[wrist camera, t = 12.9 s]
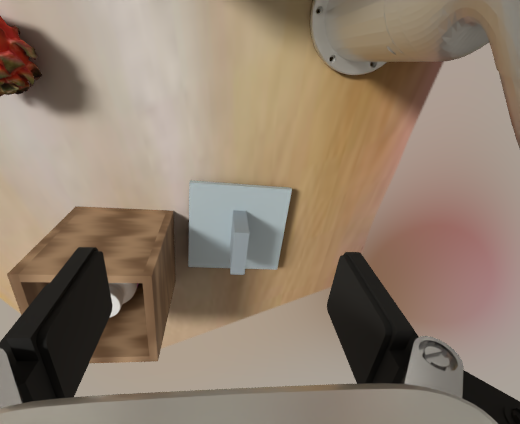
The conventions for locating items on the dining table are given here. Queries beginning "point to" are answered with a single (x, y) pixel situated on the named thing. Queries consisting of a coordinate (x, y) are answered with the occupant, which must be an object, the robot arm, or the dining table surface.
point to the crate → (112, 273)
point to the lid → (236, 225)
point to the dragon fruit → (15, 61)
